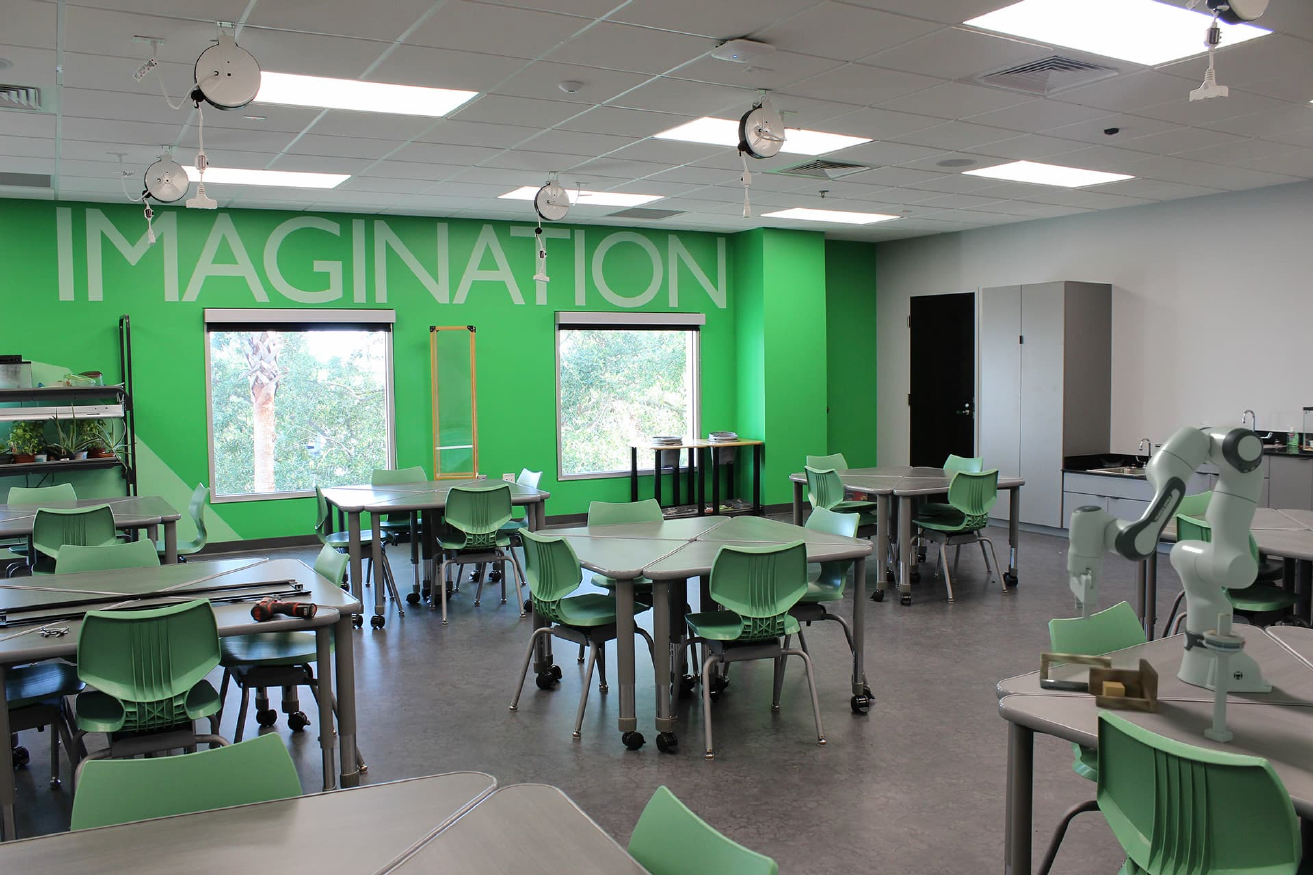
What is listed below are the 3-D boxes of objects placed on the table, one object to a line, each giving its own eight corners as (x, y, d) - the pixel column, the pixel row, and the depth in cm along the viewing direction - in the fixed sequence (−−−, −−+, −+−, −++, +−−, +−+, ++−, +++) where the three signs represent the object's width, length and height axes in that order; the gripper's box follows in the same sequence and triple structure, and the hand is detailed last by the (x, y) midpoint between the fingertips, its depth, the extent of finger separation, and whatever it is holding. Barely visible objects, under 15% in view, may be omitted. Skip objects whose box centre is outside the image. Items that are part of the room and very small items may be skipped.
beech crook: (1107, 682, 265) (1108, 654, 264) (1111, 689, 259) (1112, 661, 258) (1038, 677, 269) (1039, 649, 269) (1041, 684, 263) (1042, 655, 263)
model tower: (1212, 728, 231) (1217, 608, 229) (1246, 740, 224) (1253, 616, 222) (1190, 735, 227) (1196, 612, 225) (1225, 747, 220) (1231, 620, 218)
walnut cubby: (1144, 695, 255) (1145, 658, 254) (1156, 712, 242) (1158, 674, 241) (1087, 690, 258) (1089, 654, 257) (1097, 707, 246) (1098, 669, 245)
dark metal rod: (1086, 688, 260) (1087, 680, 259) (1088, 693, 258) (1088, 685, 257) (1039, 684, 263) (1040, 677, 262) (1041, 689, 261) (1041, 681, 260)
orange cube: (1120, 698, 252) (1120, 682, 252) (1124, 704, 248) (1124, 688, 248) (1101, 697, 253) (1102, 680, 253) (1105, 703, 249) (1106, 686, 249)
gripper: (1105, 573, 250) (1103, 624, 251) (1089, 558, 270) (1087, 606, 271) (1080, 571, 251) (1077, 622, 252) (1065, 557, 271) (1063, 604, 272)
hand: (1082, 614), depth 262 cm, fingers open, 8 cm apart
